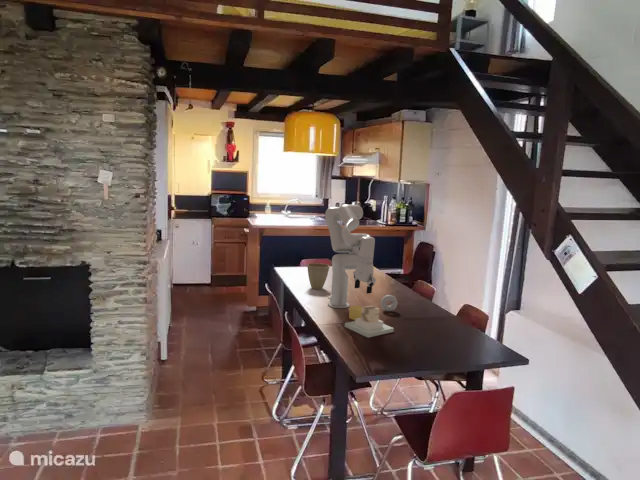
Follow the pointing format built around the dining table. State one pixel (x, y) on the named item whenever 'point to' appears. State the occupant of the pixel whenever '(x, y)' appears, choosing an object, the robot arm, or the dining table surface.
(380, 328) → the base
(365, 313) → the maple block
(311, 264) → the plant pot
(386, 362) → the dining table surface
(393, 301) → the donut
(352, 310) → the mustard block
